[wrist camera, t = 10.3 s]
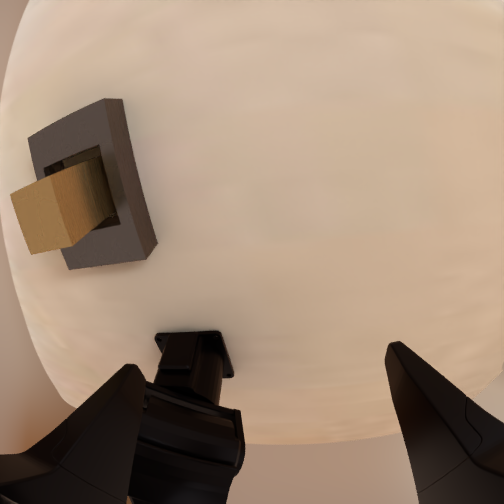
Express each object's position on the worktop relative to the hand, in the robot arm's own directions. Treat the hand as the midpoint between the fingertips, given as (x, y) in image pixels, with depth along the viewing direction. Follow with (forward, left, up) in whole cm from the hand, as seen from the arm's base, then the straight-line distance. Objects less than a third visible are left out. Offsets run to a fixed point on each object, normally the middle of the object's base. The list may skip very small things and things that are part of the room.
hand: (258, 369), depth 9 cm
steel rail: (+5, +12, -12) cm, 18 cm away
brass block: (+5, +12, -12) cm, 18 cm away
